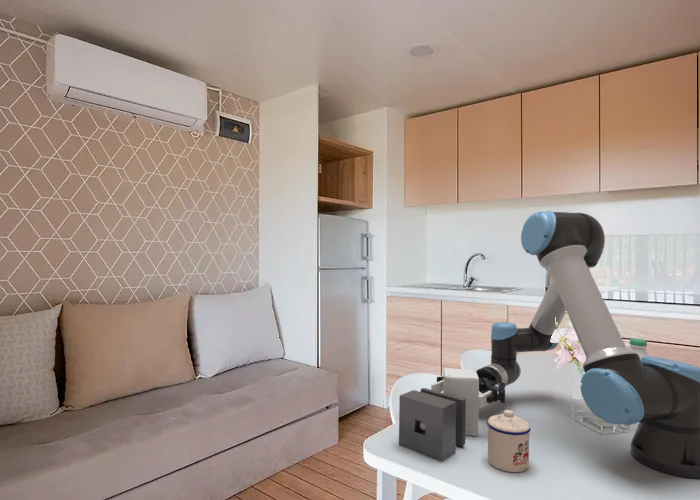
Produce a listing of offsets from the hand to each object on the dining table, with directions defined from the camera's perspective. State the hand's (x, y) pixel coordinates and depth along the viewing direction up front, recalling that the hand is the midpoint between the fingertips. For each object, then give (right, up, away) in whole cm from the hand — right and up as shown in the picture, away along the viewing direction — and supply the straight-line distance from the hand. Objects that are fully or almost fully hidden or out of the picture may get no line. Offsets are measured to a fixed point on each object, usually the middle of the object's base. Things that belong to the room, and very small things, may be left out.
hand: (454, 395), depth 111 cm
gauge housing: (-7, -9, -5) cm, 13 cm away
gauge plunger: (-8, -9, -7) cm, 14 cm away
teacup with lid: (+9, -10, -15) cm, 20 cm away
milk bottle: (+66, -11, +26) cm, 71 cm away
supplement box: (+2, -10, +2) cm, 10 cm away
